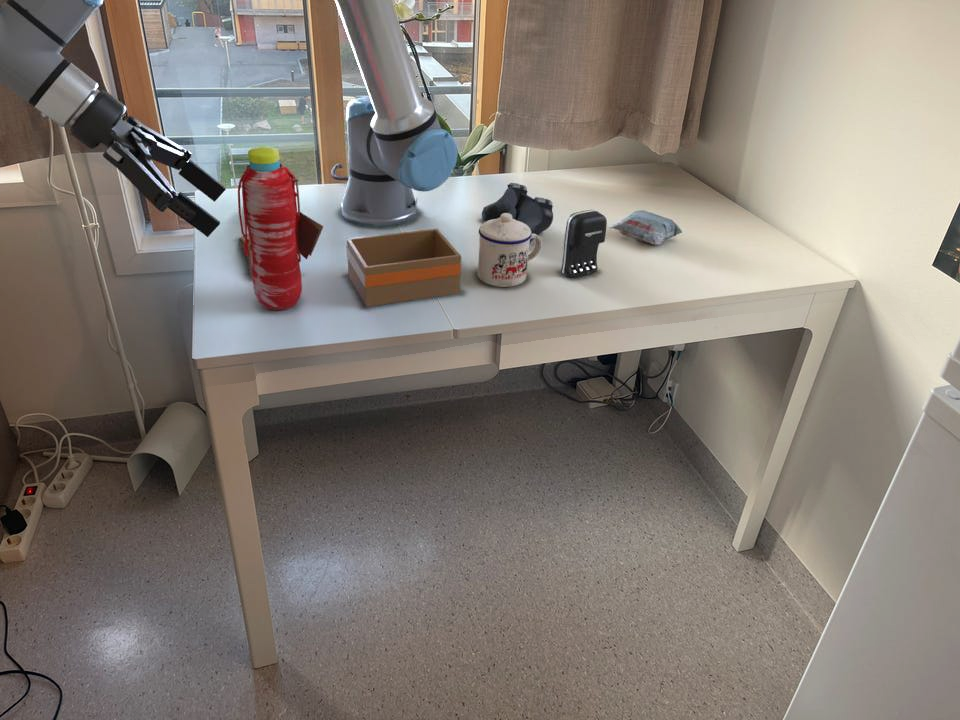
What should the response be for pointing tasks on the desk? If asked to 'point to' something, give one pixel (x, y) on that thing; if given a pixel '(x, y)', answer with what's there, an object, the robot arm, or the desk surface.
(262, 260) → the water bottle
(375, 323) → the desk surface
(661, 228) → the packaged food
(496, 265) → the teacup with lid
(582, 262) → the battery charger
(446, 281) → the wooden box
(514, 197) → the binoculars
